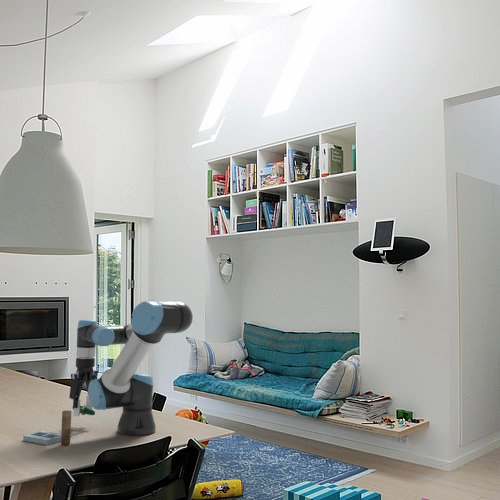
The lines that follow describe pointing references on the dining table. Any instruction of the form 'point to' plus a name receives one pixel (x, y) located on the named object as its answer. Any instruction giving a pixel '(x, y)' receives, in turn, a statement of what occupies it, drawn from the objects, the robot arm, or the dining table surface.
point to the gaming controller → (86, 410)
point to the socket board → (43, 437)
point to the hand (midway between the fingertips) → (82, 414)
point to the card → (75, 433)
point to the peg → (66, 428)
